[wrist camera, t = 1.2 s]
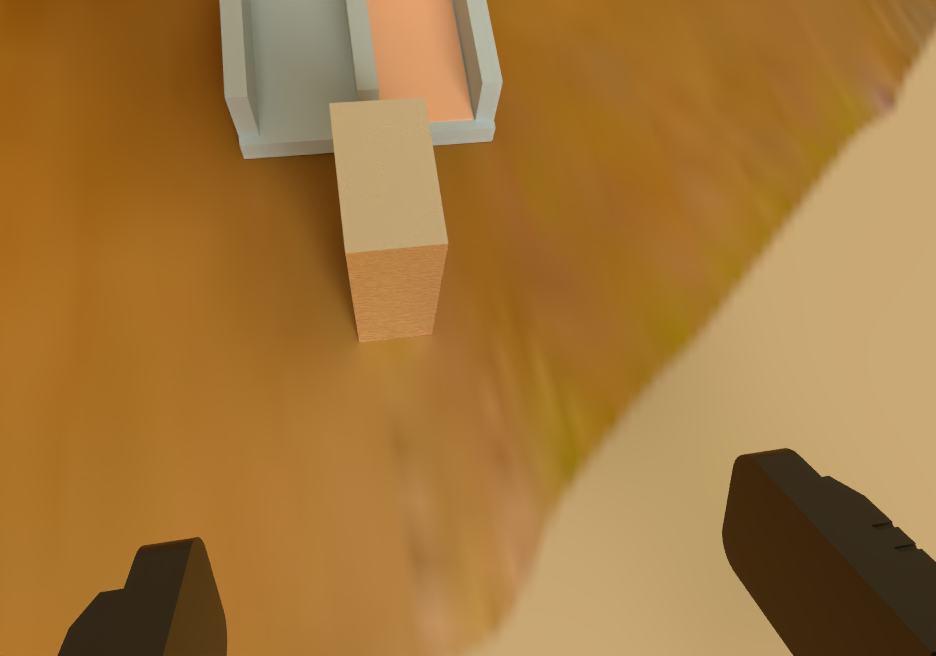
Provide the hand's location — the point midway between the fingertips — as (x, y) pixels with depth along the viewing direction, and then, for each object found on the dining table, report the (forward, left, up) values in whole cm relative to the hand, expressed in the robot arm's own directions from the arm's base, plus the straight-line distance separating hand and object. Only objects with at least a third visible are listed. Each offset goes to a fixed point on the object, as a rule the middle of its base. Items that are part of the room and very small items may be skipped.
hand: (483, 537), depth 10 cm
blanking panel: (-6, +11, -20) cm, 24 cm away
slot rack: (-13, +22, -20) cm, 33 cm away
